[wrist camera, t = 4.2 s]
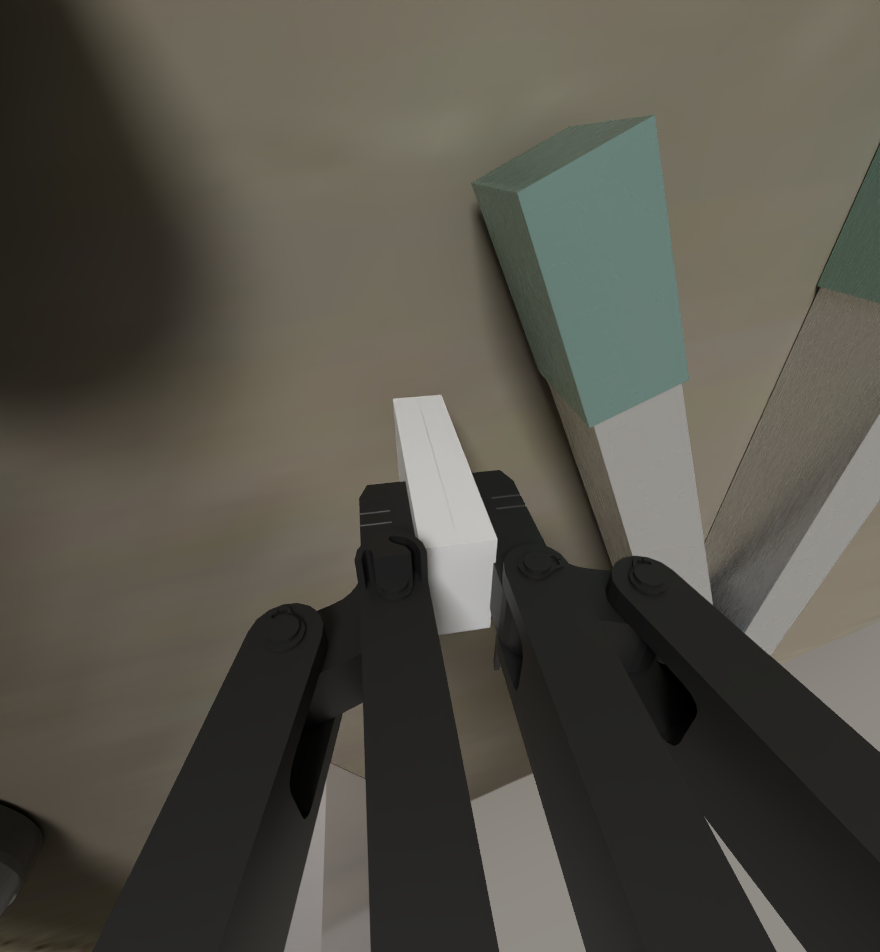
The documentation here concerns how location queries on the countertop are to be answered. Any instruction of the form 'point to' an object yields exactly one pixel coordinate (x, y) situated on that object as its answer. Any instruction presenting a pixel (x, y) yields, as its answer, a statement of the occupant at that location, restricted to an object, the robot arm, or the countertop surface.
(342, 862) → the soap dispenser
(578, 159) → the tongs hinged arm
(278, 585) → the countertop surface
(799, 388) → the tongs fixed arm
